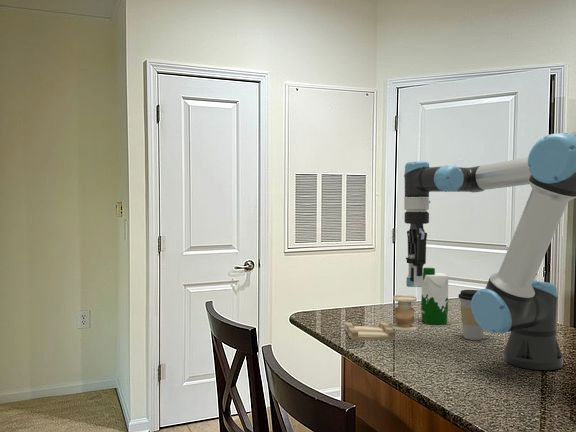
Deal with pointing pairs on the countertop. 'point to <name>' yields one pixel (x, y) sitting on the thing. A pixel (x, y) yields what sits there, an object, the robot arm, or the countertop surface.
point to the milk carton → (434, 297)
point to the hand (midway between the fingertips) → (416, 285)
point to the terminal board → (370, 332)
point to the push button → (411, 271)
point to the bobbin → (404, 313)
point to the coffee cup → (469, 316)
